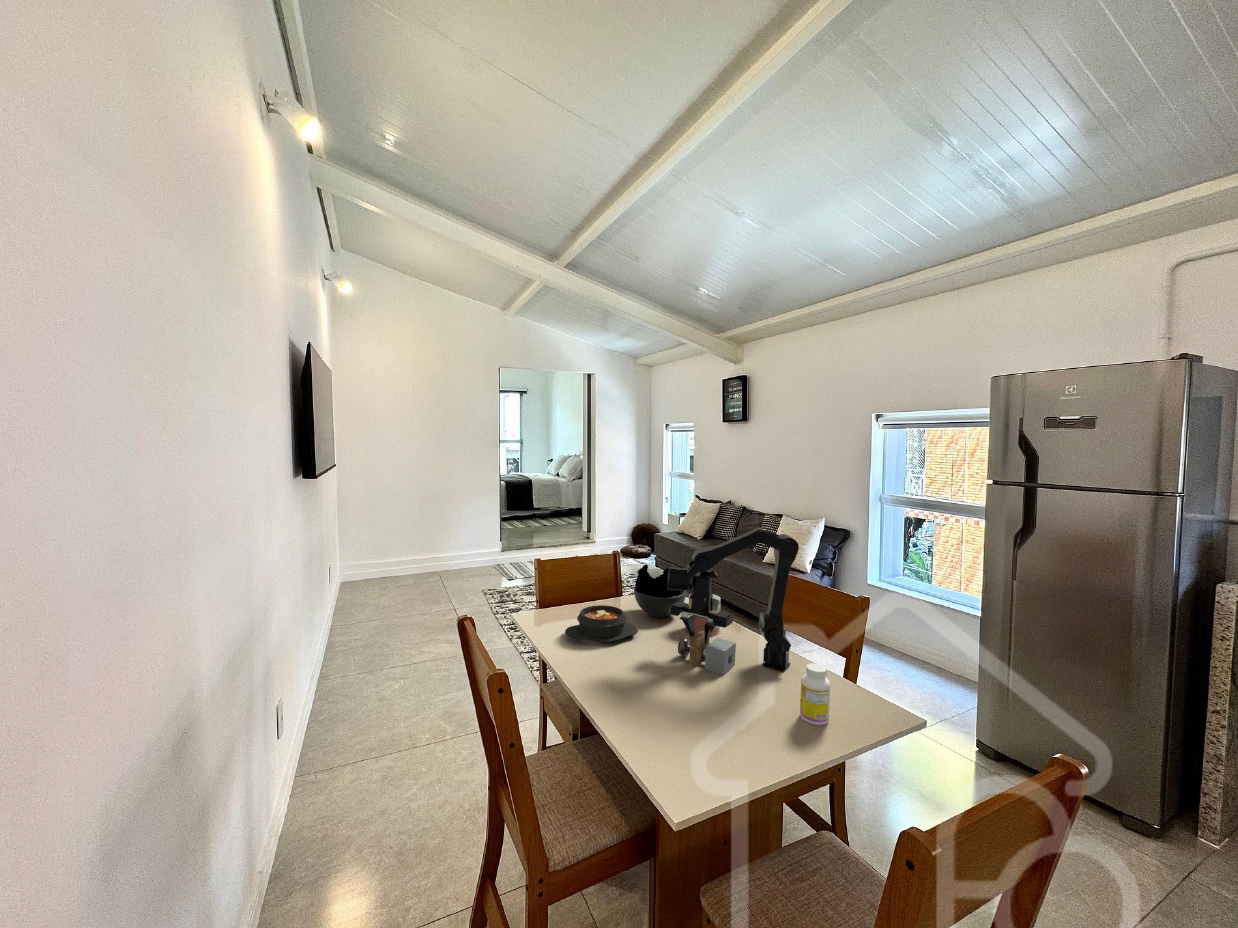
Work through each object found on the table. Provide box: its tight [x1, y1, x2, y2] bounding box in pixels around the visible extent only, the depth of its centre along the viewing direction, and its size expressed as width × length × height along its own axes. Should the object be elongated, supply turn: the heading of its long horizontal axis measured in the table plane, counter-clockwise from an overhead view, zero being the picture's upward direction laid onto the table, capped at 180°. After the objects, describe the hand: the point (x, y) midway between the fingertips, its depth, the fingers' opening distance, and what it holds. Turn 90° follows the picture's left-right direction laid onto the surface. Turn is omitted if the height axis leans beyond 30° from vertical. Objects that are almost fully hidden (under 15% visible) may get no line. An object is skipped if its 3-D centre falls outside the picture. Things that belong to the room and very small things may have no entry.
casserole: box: [564, 604, 639, 643], centre depth 172 cm, size 25×19×8 cm
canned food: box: [688, 593, 722, 637], centre depth 180 cm, size 11×11×12 cm
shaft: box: [677, 637, 706, 657], centre depth 155 cm, size 13×5×5 cm, turn 55°
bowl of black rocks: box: [633, 563, 687, 618], centre depth 194 cm, size 20×20×19 cm
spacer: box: [688, 631, 710, 667], centre depth 155 cm, size 3×7×8 cm, turn 145°
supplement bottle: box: [799, 663, 831, 726], centre depth 124 cm, size 7×7×13 cm
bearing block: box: [704, 637, 737, 676], centre depth 151 cm, size 6×8×7 cm
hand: (699, 641), depth 155 cm, fingers open, 4 cm apart
